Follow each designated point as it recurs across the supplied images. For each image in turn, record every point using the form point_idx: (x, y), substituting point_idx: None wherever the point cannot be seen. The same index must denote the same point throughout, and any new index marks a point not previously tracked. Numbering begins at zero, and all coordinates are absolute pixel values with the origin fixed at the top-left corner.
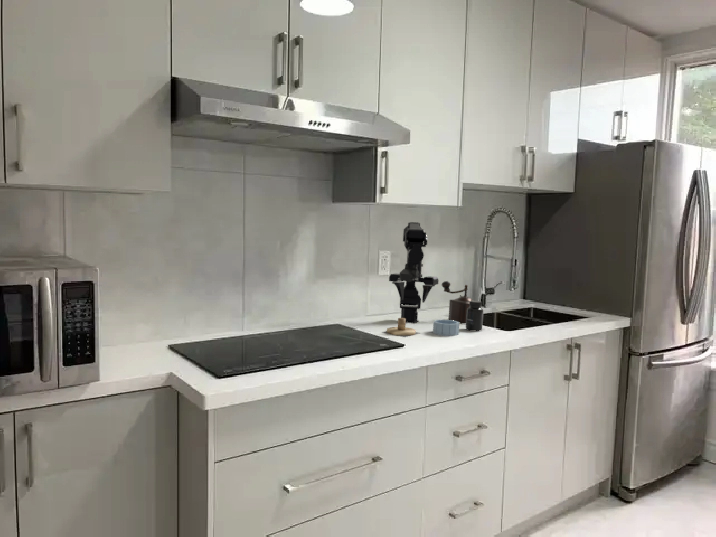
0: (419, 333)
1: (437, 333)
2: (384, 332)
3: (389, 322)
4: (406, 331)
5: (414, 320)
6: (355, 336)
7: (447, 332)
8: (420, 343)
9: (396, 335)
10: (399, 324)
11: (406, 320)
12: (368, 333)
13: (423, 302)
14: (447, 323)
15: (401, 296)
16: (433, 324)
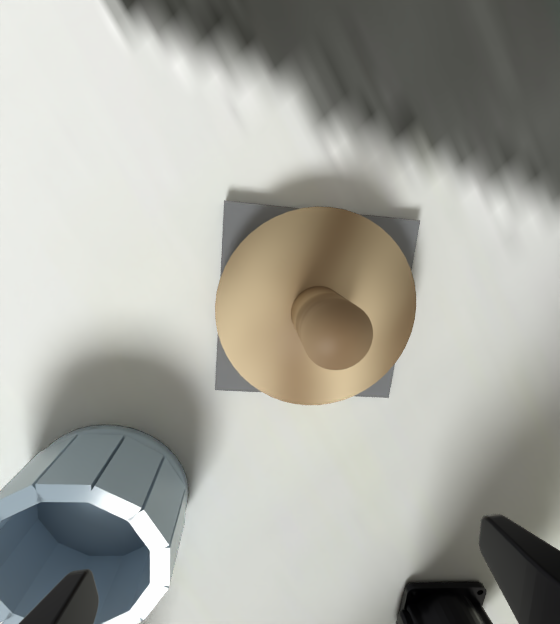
0: (216, 374)
1: (117, 435)
2: (402, 231)
3: None
4: (260, 285)
5: (401, 621)
6: (522, 3)
7: (41, 456)
8: (60, 134)
9: (296, 208)
10: (330, 293)
11: (442, 600)
12: (489, 171)
13: (73, 575)
14: (114, 596)
15: (539, 568)
16: (148, 491)
